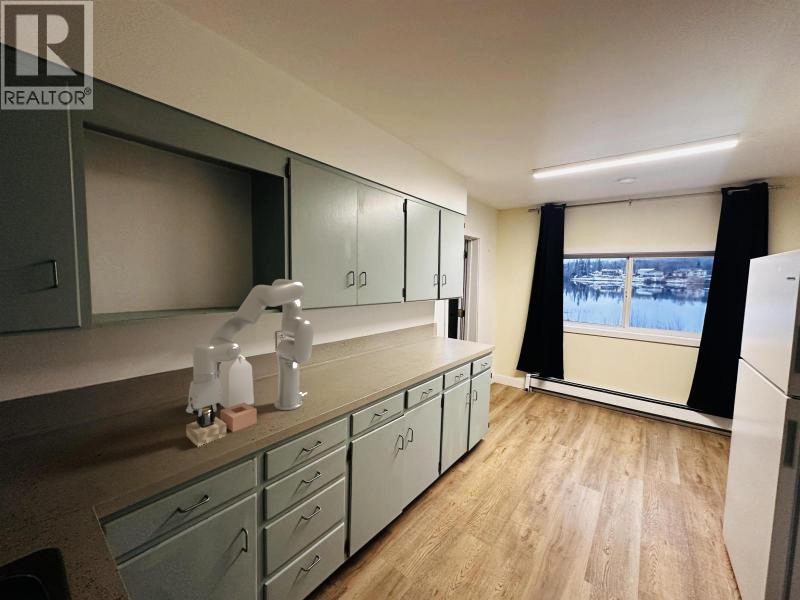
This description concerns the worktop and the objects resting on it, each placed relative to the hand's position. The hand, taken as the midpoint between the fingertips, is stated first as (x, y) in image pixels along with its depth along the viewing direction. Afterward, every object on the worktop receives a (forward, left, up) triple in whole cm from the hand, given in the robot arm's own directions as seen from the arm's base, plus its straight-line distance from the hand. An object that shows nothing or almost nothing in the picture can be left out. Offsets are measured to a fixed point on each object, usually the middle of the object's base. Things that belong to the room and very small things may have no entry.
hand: (206, 422), depth 124 cm
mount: (0, 0, -6) cm, 6 cm away
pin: (0, 0, -6) cm, 6 cm away
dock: (-13, -1, -6) cm, 14 cm away
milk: (-22, -21, -6) cm, 31 cm away
